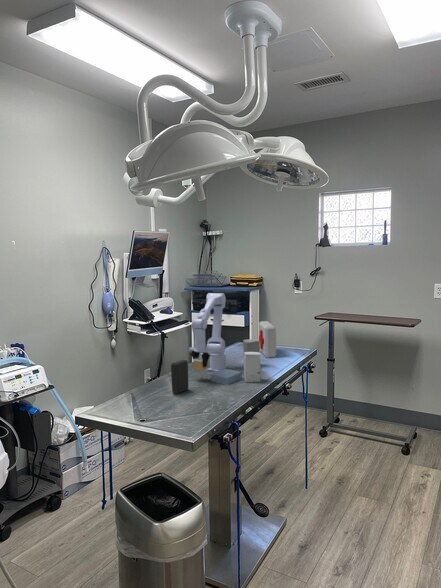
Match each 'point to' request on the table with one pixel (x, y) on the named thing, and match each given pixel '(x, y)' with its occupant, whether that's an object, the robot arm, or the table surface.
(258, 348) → the skincare box
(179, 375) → the card reader
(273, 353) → the bevelled white case
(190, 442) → the table surface
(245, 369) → the skincare box
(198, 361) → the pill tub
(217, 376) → the box
